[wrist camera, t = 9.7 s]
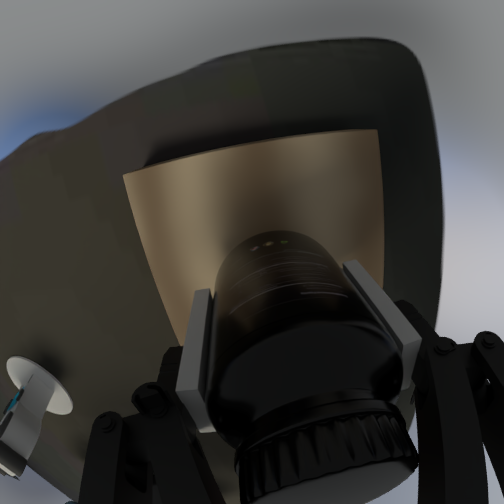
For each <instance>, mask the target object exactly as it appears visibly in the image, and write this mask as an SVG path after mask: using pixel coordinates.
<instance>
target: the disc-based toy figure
mask: <svg viewBox="0 0 504 504" xmlns="http://www.w3.org/2000/svg"><path fill="white" fill-rule="evenodd" d="M7 370H8V373H9V375H10V377H11V379H12V381H13V382H14V384H15V385H16V386H17V388H18V389H19V391H18V392H17V394H16V395H15V397H14V399H11V400H10V402H9V403H8V405H7V406H6V408H5V410H4V412H3V413H4V414H5V416H4V417H3V419H2V421H1V422H0V473H1V474H2V475H3V476H5V475H6V473H8V474H9V475H11V476H15V475H17V476H19V477H20V476H21V475H22V473H23V471H24V469H25V467H26V464H27V460H28V458H29V456H30V454H31V452H32V451H33V448H34V446H35V444H36V442H37V440H38V437H39V434H40V430H41V424H42V423H41V420H42V418H43V415H44V413H45V411H46V410H47V411H50V412H52V413H56V414H61V415H64V414H68V413H70V412H71V411H72V409H73V401H72V399H71V396H70V395H69V393H68V392H67V390H66V389H65V388H64V386H63V385H62V384H61V383H60V382H59V381H58V380H57V379H56V378H55V377H54V376H53V375H52V374H51V373H49V372H48V371H47V370H46V369H44V368H43V367H41V366H40V365H38V364H37V363H35V362H33V361H32V360H29V359H27V358H25V357H21V356H12V357H10V358H9V360H8V361H7Z"/></svg>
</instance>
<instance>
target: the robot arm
mask: <svg viewBox="0 0 504 504" xmlns="http://www.w3.org/2000/svg"><path fill="white" fill-rule="evenodd" d="M343 271H344V272H345V274H346V275H347V276H348V277H349V279H350V280H351V281H352V283H353V284H354V285H355V287H356V288H357V289H358V291H359V292H360V293H361V294H362V296H363V297H364V298H365V300H366V301H367V303H368V304H369V305H370V307H371V308H372V309H373V311H374V312H375V313H376V315H377V316H378V317H379V319H380V320H381V322H382V323H383V324H384V326H385V327H386V329H387V330H388V331H389V333H390V334H391V336H392V337H393V339H394V341H395V342H396V344H397V346H398V348H399V350H400V352H401V356H402V359H403V367H404V374H403V383H402V388H401V390H404V389H407V388H409V385H410V382H411V379H412V380H413V382H414V383H415V385H416V386H415V389H414V392H413V395H412V398H411V402H410V404H413V402H414V399H415V407H416V418H417V433H418V455H419V459H420V461H419V481H418V483H419V484H418V504H489V501H488V483H487V472H486V462H485V455H484V448H483V444H484V446H485V448H486V451H487V453H488V455H489V458H490V461H491V463H492V466H493V468H494V471H495V474H496V476H497V479H498V481H499V484H500V488H501V490H502V494H503V497H504V342H503V341H502V340H501V339H500V337H499V336H497V335H496V334H495V333H493V332H489V331H483V332H480V333H478V334H477V335H476V337H475V339H474V342H473V343H466V344H456V342H455V341H453V340H452V339H450V338H447V337H439V335H438V334H437V333H436V332H435V331H434V329H433V328H432V327H431V326H430V325H429V324H428V322H427V321H426V320H425V319H424V318H423V317H422V315H421V314H420V313H418V311H417V310H416V309H415V308H414V306H413V305H412V304H410V303H408V302H406V301H404V300H400V301H396V302H392V300H391V299H390V298H389V297H388V296H387V294H386V293H385V292H384V291H383V290H382V289H381V287H380V286H379V285H378V284H377V283H376V281H375V280H374V279H373V278H372V277H371V276H370V275H369V273H368V272H367V271H366V270H365V269H364V268H363V267H362V265H361V264H360V263H359V262H358V261H357V260H356V259H355V260H351V261H346V262H343ZM212 304H213V298H212V294H211V291H210V288H207V289H201V290H195V293H194V298H193V303H192V307H191V312H190V317H189V322H188V327H187V332H186V337H185V342H184V346H177V347H170V348H169V349H168V350H167V352H166V353H165V354H164V356H163V360H162V364H161V365H162V366H161V367H160V371H159V372H160V373H159V375H158V380H157V382H149V383H145V384H143V385H141V386H140V387H138V388H137V389H136V390H135V391H134V393H133V395H132V400H131V401H132V403H133V404H134V406H135V407H136V408H137V410H138V411H139V412H140V413H138V414H135V415H131V416H128V417H124V418H122V417H121V416H120V415H119V414H118V413H116V412H111V411H109V412H105V413H103V414H101V415H99V416H98V417H97V418H96V419H95V421H94V423H93V426H92V430H91V435H90V439H89V444H88V448H87V453H86V458H85V464H84V469H83V475H82V481H81V487H80V494H79V501H78V503H77V502H74V501H69V502H66V503H65V504H226V503H225V501H224V498H223V496H222V494H221V492H220V490H219V488H218V485H217V483H216V481H215V479H214V476H213V474H212V472H211V469H210V467H209V465H208V462H207V460H206V457H205V455H204V452H203V450H202V447H201V445H200V442H199V440H198V439H197V437H196V426H197V428H198V430H199V431H200V433H204V432H216V431H215V429H214V428H213V426H212V424H211V422H210V420H209V418H208V415H207V412H206V407H205V383H206V370H207V358H208V346H209V335H210V325H211V314H212ZM487 379H488V380H489V382H490V383H489V382H488V380H487ZM153 471H154V475H155V476H153Z"/></svg>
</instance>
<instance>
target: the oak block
mask: <svg viewBox="0 0 504 504" xmlns="http://www.w3.org/2000/svg"><path fill="white" fill-rule="evenodd" d="M123 178H124V182H125V186H126V190H127V194H128V197H129V201H130V204H131V208H132V212H133V215H134V218H135V222H136V225H137V228H138V232H139V235H140V238H141V241H142V244H143V247H144V251H145V254H146V257H147V260H148V263H149V265H150V268H151V271H152V274H153V277H154V280H155V283H156V285H157V288H158V291H159V293H160V296H161V299H162V301H163V304H164V307H165V309H166V312H167V314H168V317H169V319H170V322H171V324H172V327H173V329H174V332H175V334H176V336H177V339H178V341H179V343H180V346H184V342H185V337H186V332H187V327H188V322H189V317H190V312H191V307H192V303H193V298H194V293H195V290H201V289H207V288H210V291H211V294H212V298H213V296H214V287H215V281H216V277H217V274H218V271H219V268H220V266H221V264H222V262H223V261H224V259H225V258H226V257H227V255H228V254H229V253H230V252H231V251H232V250H233V249H234V248H235V247H236V246H237V245H239V244H240V243H241V242H243V241H244V240H246V239H248V238H250V237H252V236H254V235H257V234H260V233H263V232H267V231H275V230H287V231H294V232H298V233H301V234H304V235H306V236H309V237H311V238H312V239H314V240H316V241H317V242H318V243H319V244H321V245H322V246H323V247H324V248H325V249H326V250H327V251H328V252H329V254H330V255H331V256H332V257H333V258H334V260H335V261H336V262H337V263H338V265H339V266H340V267H341V268H342V270H343V262H346V261H351V260H355V259H356V260H357V261H358V262H359V263H360V264H361V265H362V267H363V268H364V269H365V270H366V271H367V272H368V273H369V275H370V276H371V277H372V278H373V279H374V280H375V281H376V283H377V284H378V285H379V286H380V287H381V289H382V290H383V275H384V204H383V185H382V171H381V159H380V149H379V140H378V132H377V130H373V129H349V130H338V131H327V132H318V133H309V134H301V135H294V136H286V137H279V138H273V139H267V140H261V141H255V142H249V143H243V144H238V145H233V146H228V147H223V148H218V149H213V150H209V151H204V152H200V153H195V154H191V155H187V156H183V157H179V158H175V159H171V160H167V161H163V162H160V163H156V164H152V165H149V166H145V167H142V168H139V169H137V170H134V171H132V172H129V173H127V174H125V175H123Z"/></svg>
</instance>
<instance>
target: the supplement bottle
mask: <svg viewBox="0 0 504 504" xmlns="http://www.w3.org/2000/svg"><path fill="white" fill-rule="evenodd" d="M403 374H404V367H403V359H402V356H401V352H400V350H399V348H398V346H397V344H396V342H395V341H394V339H393V337H392V336H391V334H390V333H389V331H388V330H387V329H386V327H385V326H384V324H383V323H382V322H381V320H380V319H379V317H378V316H377V315H376V313H375V312H374V311H373V309H372V308H371V307H370V305H369V304H368V303H367V301H366V300H365V298H364V297H363V296H362V294H361V293H360V292H359V291H358V289H357V288H356V287H355V285H354V284H353V283H352V281H351V280H350V279H349V277H348V276H347V275H346V274H345V272H344V271H343V270H342V268H341V267H340V266H339V265H338V263H337V262H336V261H335V260H334V258H333V257H332V256H331V255H330V254H329V252H328V251H327V250H326V249H325V248H324V247H323V246H322V245H321V244H319V243H318V242H317V241H316V240H314V239H312V238H311V237H309V236H306V235H304V234H301V233H298V232H294V231H287V230H275V231H267V232H263V233H260V234H257V235H254V236H252V237H250V238H248V239H246V240H244V241H243V242H241V243H240V244H239V245H237V246H236V247H235V248H234V249H233V250H232V251H231V252H230V253H229V254H228V255H227V257H226V258H225V259H224V261H223V262H222V264H221V266H220V268H219V271H218V274H217V277H216V281H215V287H214V296H213V304H212V314H211V325H210V335H209V346H208V358H207V370H206V383H205V407H206V412H207V415H208V418H209V420H210V422H211V424H212V426H213V428H214V429H215V431H216V432H217V433H218V435H219V436H220V437H221V438H222V439H223V440H224V441H225V442H226V443H228V444H229V445H230V446H231V447H233V448H235V449H236V452H235V461H234V467H235V472H236V474H237V475H238V476H239V489H240V502H241V504H365V503H367V502H369V501H371V500H374V499H376V498H378V497H380V496H381V495H383V494H385V493H387V492H389V491H390V490H392V489H393V488H395V487H397V486H398V485H400V484H401V483H402V482H403V481H405V480H406V479H407V478H408V477H409V476H410V475H411V474H412V473H413V472H414V471H415V469H416V468H417V467H418V463H419V461H420V459H419V455H418V453H417V450H416V448H415V446H414V444H413V442H412V440H411V438H410V436H409V434H408V432H407V430H406V422H405V420H404V418H403V416H402V414H401V412H400V410H399V409H398V407H397V406H396V405H395V404H396V402H397V400H398V397H399V395H400V392H401V388H402V383H403Z"/></svg>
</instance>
